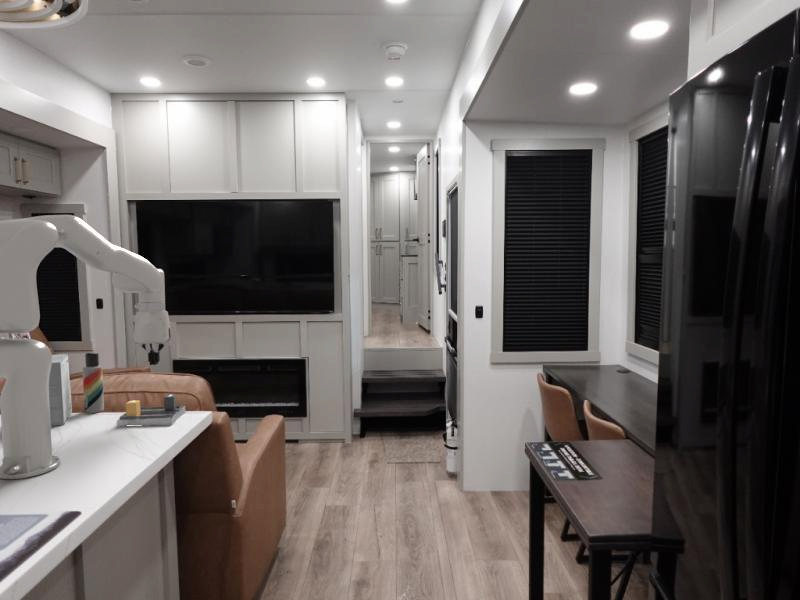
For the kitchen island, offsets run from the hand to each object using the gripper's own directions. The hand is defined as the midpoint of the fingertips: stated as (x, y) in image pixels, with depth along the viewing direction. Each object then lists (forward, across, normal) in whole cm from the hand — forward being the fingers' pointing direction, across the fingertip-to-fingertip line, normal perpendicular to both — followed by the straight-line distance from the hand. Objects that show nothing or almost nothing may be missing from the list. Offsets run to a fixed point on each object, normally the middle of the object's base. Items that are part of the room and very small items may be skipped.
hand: (154, 364), depth 166 cm
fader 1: (+15, -5, -6) cm, 17 cm away
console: (+17, 0, -2) cm, 17 cm away
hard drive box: (+18, -31, 0) cm, 36 cm away
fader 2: (+15, +5, +1) cm, 16 cm away
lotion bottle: (+17, -23, +9) cm, 30 cm away
